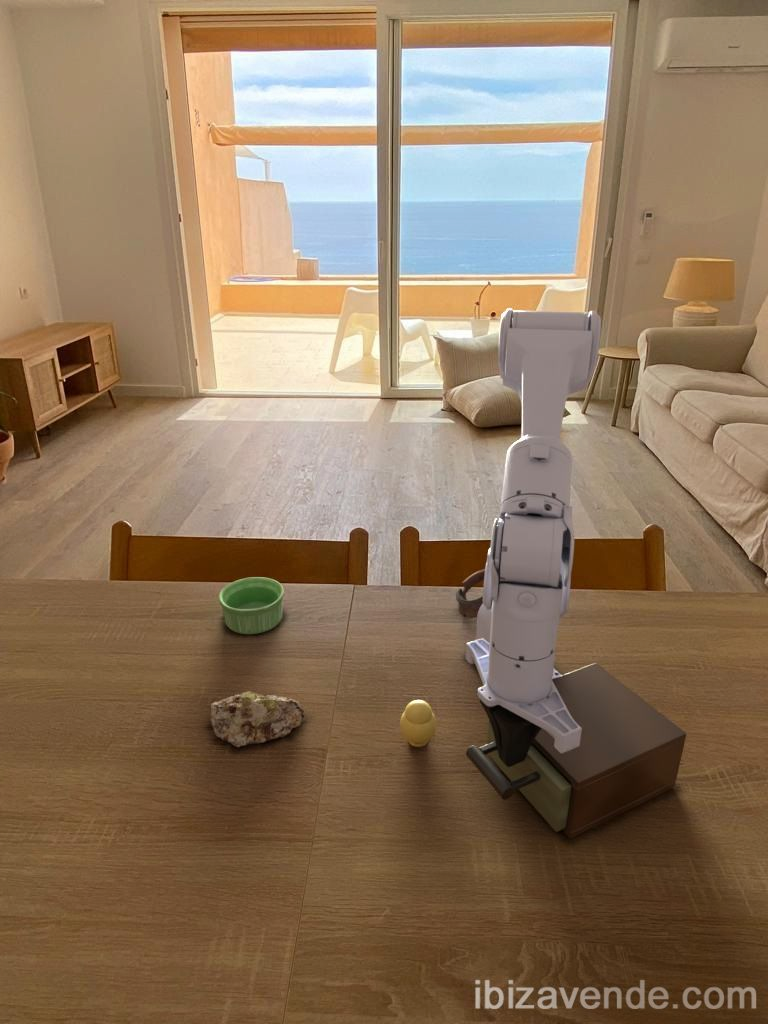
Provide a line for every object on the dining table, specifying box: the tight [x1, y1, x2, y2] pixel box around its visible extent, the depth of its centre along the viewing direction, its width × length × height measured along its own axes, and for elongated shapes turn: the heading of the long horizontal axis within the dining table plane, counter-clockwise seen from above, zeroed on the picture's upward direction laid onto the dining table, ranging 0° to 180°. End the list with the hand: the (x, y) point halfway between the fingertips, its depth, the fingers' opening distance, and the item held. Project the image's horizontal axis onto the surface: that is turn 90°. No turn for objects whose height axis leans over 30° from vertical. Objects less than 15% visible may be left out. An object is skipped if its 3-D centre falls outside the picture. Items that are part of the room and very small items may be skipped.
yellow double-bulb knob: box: [399, 699, 438, 748], centre depth 76 cm, size 4×4×5 cm
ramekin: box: [218, 576, 285, 635], centre depth 98 cm, size 9×9×4 cm
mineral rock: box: [210, 690, 306, 748], centre depth 79 cm, size 11×4×8 cm
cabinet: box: [532, 662, 687, 839], centre depth 71 cm, size 14×13×7 cm
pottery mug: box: [455, 568, 485, 619], centre depth 98 cm, size 12×10×8 cm
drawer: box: [465, 719, 572, 833], centre depth 69 cm, size 17×11×5 cm
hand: (512, 759), depth 67 cm, fingers closed
